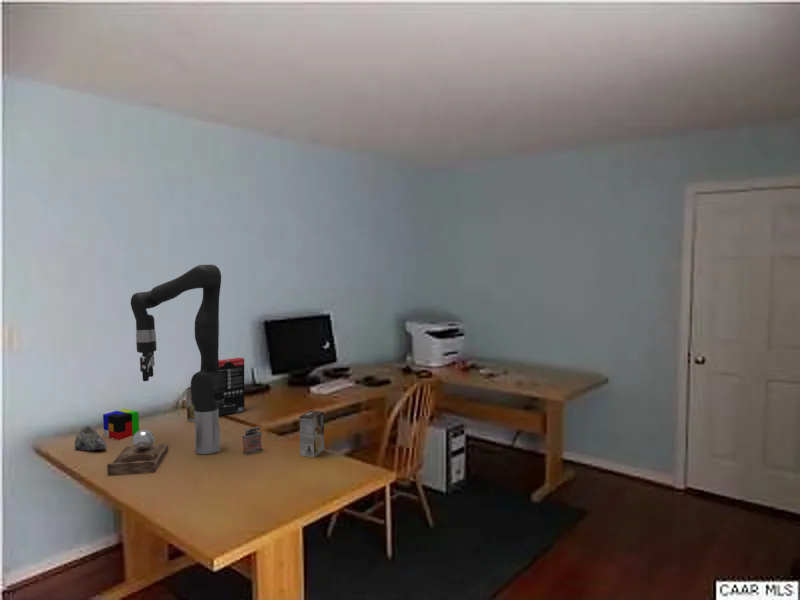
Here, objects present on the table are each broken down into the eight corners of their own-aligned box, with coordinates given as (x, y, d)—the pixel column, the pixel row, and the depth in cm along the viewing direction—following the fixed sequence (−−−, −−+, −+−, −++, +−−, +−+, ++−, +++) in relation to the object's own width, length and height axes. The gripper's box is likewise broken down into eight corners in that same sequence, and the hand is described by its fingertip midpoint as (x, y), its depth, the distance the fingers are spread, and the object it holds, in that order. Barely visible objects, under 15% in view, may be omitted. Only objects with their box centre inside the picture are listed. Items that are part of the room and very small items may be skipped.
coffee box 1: (211, 418, 281) (210, 385, 279) (204, 422, 274) (203, 388, 273) (193, 417, 282) (192, 385, 281) (186, 421, 276) (185, 388, 274)
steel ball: (156, 445, 235) (156, 426, 234) (152, 452, 227) (151, 432, 226) (135, 446, 234) (134, 427, 233) (130, 453, 226) (129, 433, 225)
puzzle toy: (104, 436, 254) (102, 414, 253) (124, 430, 263) (123, 408, 262) (119, 440, 249) (118, 417, 248) (139, 433, 258) (138, 411, 257)
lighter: (244, 455, 230) (244, 430, 230) (241, 453, 233) (240, 428, 232) (263, 451, 236) (263, 426, 235) (259, 448, 238) (259, 424, 237)
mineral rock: (107, 452, 235) (106, 427, 234) (77, 457, 229) (76, 432, 228) (102, 443, 245) (101, 420, 245) (73, 448, 239) (72, 424, 238)
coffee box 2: (310, 448, 239) (310, 410, 237) (324, 450, 237) (324, 411, 235) (299, 455, 230) (299, 416, 229) (314, 457, 228) (313, 417, 226)
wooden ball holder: (168, 450, 237) (167, 440, 237) (154, 472, 213) (154, 461, 213) (126, 452, 234) (125, 442, 234) (107, 475, 211) (107, 464, 210)
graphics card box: (240, 409, 297) (239, 356, 295) (246, 412, 292) (244, 358, 290) (207, 415, 286) (205, 360, 284) (213, 418, 281) (211, 362, 279)
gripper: (152, 342, 234) (154, 382, 236) (159, 337, 248) (161, 374, 250) (132, 343, 233) (134, 383, 234) (140, 338, 247) (142, 375, 248)
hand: (148, 378), depth 242 cm, fingers open, 8 cm apart
